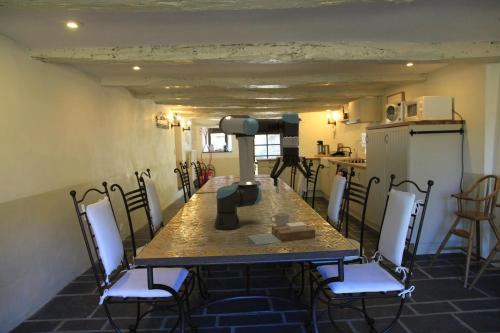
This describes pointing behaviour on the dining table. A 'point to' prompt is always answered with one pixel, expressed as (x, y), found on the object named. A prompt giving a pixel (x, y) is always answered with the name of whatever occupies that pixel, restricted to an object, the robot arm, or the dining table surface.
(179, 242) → the dining table surface
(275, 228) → the block
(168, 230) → the dining table surface
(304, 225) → the beige flat block
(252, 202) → the robot arm
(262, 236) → the mat
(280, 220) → the cup
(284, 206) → the dining table surface
